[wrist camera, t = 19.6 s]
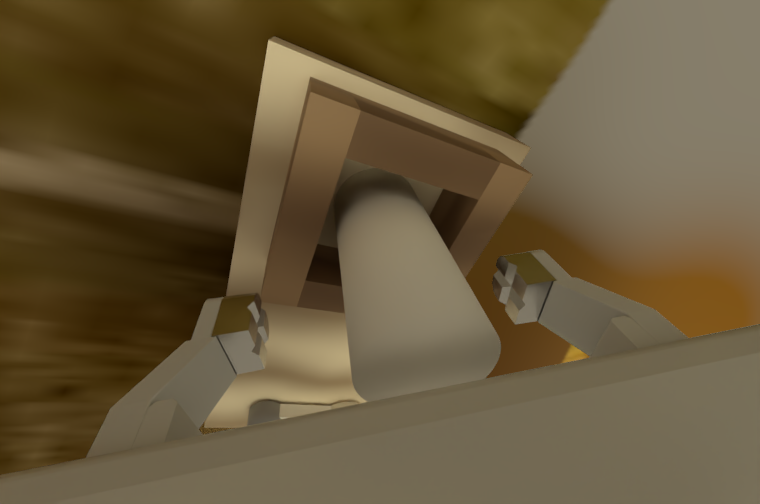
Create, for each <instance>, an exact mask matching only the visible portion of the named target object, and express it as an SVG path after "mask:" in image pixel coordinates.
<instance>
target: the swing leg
mask: <svg viewBox="0 0 760 504" xmlns="http://www.w3.org/2000/svg"><path fill="white" fill-rule="evenodd" d="M355 404H358V403H356V402H341V403H337V404H334V405H332V406H321V405H297V404H280V403H277V402H274V401H263V402H259V403H256V404H254V405H253V406H252V407H251V408H250V410H249V416H248V422H247V426H249V425H254V424H260V423H265V422H270V421H275V420H280V419H285V418H290V417H295V416H300V415H305V414H310V413H315V412H320V411H325V410H330V409H335V408H340V407H345V406H350V405H355Z"/></svg>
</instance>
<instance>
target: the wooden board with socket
mask: <svg viewBox="0 0 760 504" xmlns="http://www.w3.org/2000/svg"><path fill="white" fill-rule="evenodd" d="M530 149H531V148H530V147H529V146H527V145H525V144H523V143H522V142H520V141H519V140H517V139H515V138H514V137H512V136H510V135H509V134H507V133H505V132H502V131H500V130H498V129H495V128H493V127H490V126H488V125H486V124H483V123H481V122H478V121H476V120H474V119H471V118H469V117H467V116H464V115H462V114H459V113H457V112H455V111H452V110H450V109H447V108H445V107H443V106H440V105H438V104H435V103H433V102H431V101H428V100H426V99H423V98H421V97H419V96H416V95H414V94H411V93H409V92H407V91H404V90H402V89H399V88H397V87H395V86H392V85H390V84H387V83H385V82H383V81H380V80H378V79H375V78H373V77H371V76H368V75H366V74H363V73H361V72H359V71H356V70H354V69H351V68H349V67H347V66H344V65H342V64H339V63H337V62H335V61H332V60H330V59H328V58H325V57H323V56H320V55H318V54H316V53H313V52H311V51H308V50H306V49H304V48H301V47H299V46H296V45H294V44H292V43H289V42H287V41H284V40H282V39H280V38H277V37H275V36H274V37H273V38H271V39H269V40H268V46H267V52H266V58H265V64H264V70H263V76H262V82H261V88H260V94H259V100H258V106H257V112H256V118H255V124H254V130H253V136H252V142H251V148H250V154H249V160H248V166H247V172H246V178H245V184H244V190H243V196H242V202H241V208H240V215H239V221H238V227H237V233H236V239H235V245H234V251H233V257H232V263H231V269H230V275H229V281H228V287H227V293H226V296H233V295H241V294H249V293H258V294H259V295H260V298H261V300H262V304H261V309H263V310H265V311H266V314H267V318H268V322H269V338H268V340H267V342H266V343H265V347H266V350H267V355H266V363H265V369H262V370H257V371H252V372H247V373H242V374H237V375H236V376H237V377H236V378H235V379H234V381H233V382H232V384H231V385H230V386H229V388H228V389H227V391H226V392H225V393H224V395H223V396H222V397H221V399H220V400H219V402H218V403H217V404H216V406H215V407H214V409H213V410H212V411H211V413H210V414H209V416H208V417H207V418H206V420H205V425H204V428H239V427H244V426H247V422H248V416H249V410H250V408H251V407H252V406H253V405H254V404H256V403H259V402H263V401H274V402H277V403H280V404H297V405H321V406H332V405H334V404H337V403H341V402H356V403H358V404H360V403H365V402H367V401H366V400H364V399H363V398H362V397H360V395H359V394H358V393H357V392H356V390H355V389H354V386H353V383H352V375H351V366H350V356H349V347H348V337H347V328H346V318H345V309H344V299H343V290H342V280H341V271H340V262H339V252H338V243H337V233H336V224H335V214H334V202H335V198H336V195H337V192H338V191H339V189H340V187H341V186H342V184H343V183H344V182H345V181H346V180H347V179H349V178H350V177H351V176H353V175H354V174H356V173H358V172H360V171H363V170H366V169H371V168H379V169H382V170H385V171H388V172H391V173H395V174H398V175H401V176H403V177H404V178H405V179H406V180H407V181H408V182H409V183H410V185H411V186H412V188H413V190H414V192H415V193H416V195H417V197H418V199H419V200H420V202H421V204H422V205H423V207H424V209H425V211H426V212H427V214H428V216H429V217H430V219H431V221H432V223H433V224H434V226H435V228H436V230H437V231H438V233H439V235H440V236H441V238H442V240H443V242H444V243H445V245H446V247H447V248H448V250H449V252H450V254H451V255H452V257H453V259H454V261H455V262H456V264H457V266H458V267H459V269H460V271H461V273H462V274H463V276H464V278H465V277H466V276H467V274H468V273H469V271H470V269H471V268H472V267H473V265H474V264H475V262H476V261H477V259H478V258H479V256H480V255H481V253H482V251H483V250H484V248H485V247H486V245H487V244H488V242H489V240H490V239H491V238H492V236H493V235H494V233H495V232H496V230H497V229H498V227H499V226H500V224H501V223H502V221H503V220H504V218H505V217H506V215H507V213H508V212H509V210H510V209H511V207H512V206H513V204H514V203H515V201H516V200H517V198H518V197H519V195H520V193H521V192H522V191H523V189H524V188H525V186H526V185H527V183H528V182H529V180H530V179H531V177H532V174H531V173H530V172H528V171H527V170H526V169H524V168H523V167H521V166H520V165H521V163H522V161H523V160H524V158H525V157H526V155H527V153H528V152H529V150H530Z"/></svg>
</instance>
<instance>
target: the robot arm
mask: <svg viewBox="0 0 760 504" xmlns="http://www.w3.org/2000/svg"><path fill="white" fill-rule="evenodd" d="M496 266H497V268H498V269H499V270H498V271H497V272H496V273H495V275H494V276H493V282H492V284H493V291H494V293H495V296H496V297H497V299H498V300H499V301H500V302H502V303H504V304H506V308H505V311H506V312H507V314H508V315H509V316H510V318H511V319H512V321H513V322H514V323H515V324H521V323H527V322H534V321H538V322H539V323H540V324H542V325H543V326H545V327H546V328H548V329H549V330H551V331H552V332H554V333H556V334H557V335H558V336H560V337H562V338H563V339H565V340H566V341H568V342H569V343H571V344H572V345H574V346H575V347H577V348H578V349H580V350H581V351H583V352H584V353H586V354H587V355H589V356H590V357H589V358H587V359H582V360H577V361H572V362H567V363H562V364H557V365H551V366H546V367H542V368H537V369H532V370H526V371H521V372H516V373H512V374H506V375H502V376H496V377H492V378H486V379H482V380H477V381H472V382H467V383H461V384H456V385H451V386H446V387H441V388H436V389H431V390H426V391H421V392H416V393H411V394H406V395H401V396H396V397H391V398H386V399H380V400H375V401H370V402H365V403H360V404H355V405H350V406H345V407H340V408H335V409H330V410H325V411H320V412H315V413H310V414H305V415H300V416H295V417H290V418H285V419H280V420H275V421H270V422H265V423H260V424H254V425H249V426H244V427H239V428H234V429H229V430H224V431H219V432H214V433H209V434H204V435H203V434H202V433H201V432H200V430H199V428H200V427H201V425H202V424H203V423H204V421H205V420H206V418H207V417H208V416H209V414H210V413H211V411H212V410H213V409H214V407H215V406H216V404H217V403H218V402H219V400H220V399H221V397H222V396H223V395H224V393H225V392H226V391H227V389H228V388H229V386H230V385H231V384H232V382H233V381H234V379H235V378H236V377H237V376H236V375H237V374H242V373H247V372H252V371H257V370H262V369H265V363H266V355H267V350H266V347H265V343H266V342H267V340H268V338H269V322H268V318H267V314H266V311H265V310H263V309H261V304H262V300H261V298H260V295H259V294H258V293H249V294H241V295H233V296H225V297H219V298H211V299H207V300H206V301H205V302H204V305H203V307H202V310H201V313H200V316H199V319H198V321H197V324H196V327H195V330H194V332H193V335H192V338H191V340H190V341H185V342H184V343H183V344H182V345H181V346H180V347H178V348H177V349H176V350H175V351H174V352H173V353H172V354H171V355H170V356H168V357H167V358H166V359H165V360H164V361H163V362H162V363H161V364H159V365H158V366H157V367H156V368H155V369H154V370H153V371H152V372H151V373H149V374H148V375H147V376H146V377H145V378H144V379H143V380H142V381H140V382H139V383H138V384H137V385H136V386H135V387H134V388H133V389H132V390H130V391H129V392H128V393H127V394H126V395H125V396H124V397H123V398H121V399H120V400H119V401H118V402H117V403H116V404H115V405H114V406H113V407H111V408H110V410H109V412H108V414H107V416H106V418H105V420H104V422H103V424H102V426H101V428H100V430H99V432H98V434H97V436H96V438H95V440H94V442H93V444H92V446H91V448H90V450H89V452H88V454H87V456H86V458H83V459H78V460H73V461H68V462H63V463H58V464H53V465H48V466H43V467H38V468H33V469H28V470H23V471H18V472H13V473H8V474H3V475H0V504H760V324H758V325H753V326H748V327H743V328H738V329H733V330H728V331H723V332H718V333H713V334H708V335H703V336H698V337H693V338H688V337H687V336H686V335H684V334H683V333H682V332H681V331H680V330H678V329H677V328H676V327H675V326H674V325H672V324H671V323H670V322H669V321H668V320H667V319H665V318H664V317H663V316H662V315H661V314H659V313H658V312H657V311H656V310H655V309H652V308H650V307H647V306H645V305H642V304H640V303H637V302H635V301H633V300H630V299H628V298H625V297H623V296H620V295H618V294H615V293H613V292H610V291H608V290H605V289H603V288H600V287H598V286H595V285H593V284H591V283H588V282H586V281H583V280H581V279H578V278H571V277H570V276H569V275H568V274H567V273H566V272H565V271H564V270H563V269H562V268H561V267H560V266H559V265H558V264H557V263H556V262H555V261H554V260H553V259H552V258H551V257H550V256H549V255H548V254H547V253H546V252H545V251H543V250H536V251H530V252H526V253H519V254H512V255H506V256H500V257H499V258H498V260H497V263H496Z"/></svg>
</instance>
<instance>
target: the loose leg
mask: <svg viewBox="0 0 760 504" xmlns="http://www.w3.org/2000/svg"><path fill="white" fill-rule="evenodd" d="M334 214H335V224H336V233H337V243H338V252H339V262H340V271H341V280H342V290H343V299H344V309H345V318H346V328H347V337H348V347H349V356H350V366H351V375H352V383H353V386H354V389H355V390H356V392H357V393H358V394H359V395H360V397H362V398H363V399H364V400H366V401H367V402H370V401H375V400H380V399H386V398H391V397H396V396H401V395H406V394H411V393H416V392H421V391H426V390H431V389H436V388H441V387H446V386H451V385H456V384H461V383H467V382H472V381H477V380H482V379H485V378H486V377H487V375H488V374H489V373H490V372H491V371H492V369H493V368H494V367H495V365H496V363H497V361H498V359H499V356H500V351H501V343H500V339H499V336H498V335H497V333H496V331H495V329H494V328H493V326H492V324H491V323H490V321H489V319H488V317H487V316H486V314H485V312H484V310H483V309H482V307H481V306H480V304H479V302H478V300H477V298H476V297H475V295H474V293H473V292H472V290H471V288H470V286H469V285H468V283H467V281H466V280H465V278H464V276H463V274H462V273H461V271H460V269H459V267H458V266H457V264H456V262H455V261H454V259H453V257H452V255H451V254H450V252H449V250H448V248H447V247H446V245H445V243H444V242H443V240H442V238H441V236H440V235H439V233H438V231H437V230H436V228H435V226H434V224H433V223H432V221H431V219H430V217H429V216H428V214H427V212H426V211H425V209H424V207H423V205H422V204H421V202H420V200H419V199H418V197H417V195H416V193H415V192H414V190H413V188H412V186H411V185H410V183H409V182H408V181H407V180H406V179H405V178H404V177H403V176H401V175H398V174H395V173H391V172H388V171H385V170H382V169H379V168H371V169H366V170H363V171H360V172H358V173H356V174H354V175H353V176H351V177H350V178H349V179H347V180H346V181H345V182H344V183H343V184H342V186H341V187H340V189H339V191H338V192H337V195H336V198H335V202H334Z"/></svg>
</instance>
